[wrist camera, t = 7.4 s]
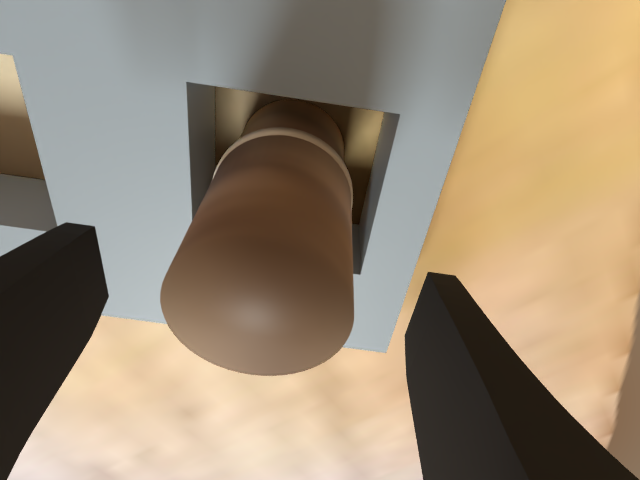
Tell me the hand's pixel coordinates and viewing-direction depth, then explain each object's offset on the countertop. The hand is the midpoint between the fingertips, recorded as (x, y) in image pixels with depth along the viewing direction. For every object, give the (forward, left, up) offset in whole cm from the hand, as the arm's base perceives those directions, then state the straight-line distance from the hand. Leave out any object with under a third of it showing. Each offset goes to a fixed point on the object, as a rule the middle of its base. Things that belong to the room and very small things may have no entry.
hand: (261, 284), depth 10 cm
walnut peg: (0, 0, -7) cm, 7 cm away
